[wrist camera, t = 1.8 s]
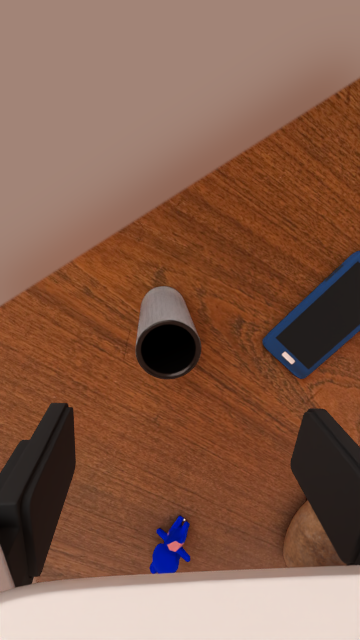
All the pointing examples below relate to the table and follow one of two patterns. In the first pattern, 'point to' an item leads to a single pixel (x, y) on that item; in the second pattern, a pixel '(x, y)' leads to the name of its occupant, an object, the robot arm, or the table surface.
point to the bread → (308, 542)
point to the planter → (166, 335)
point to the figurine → (170, 548)
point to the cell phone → (319, 321)
